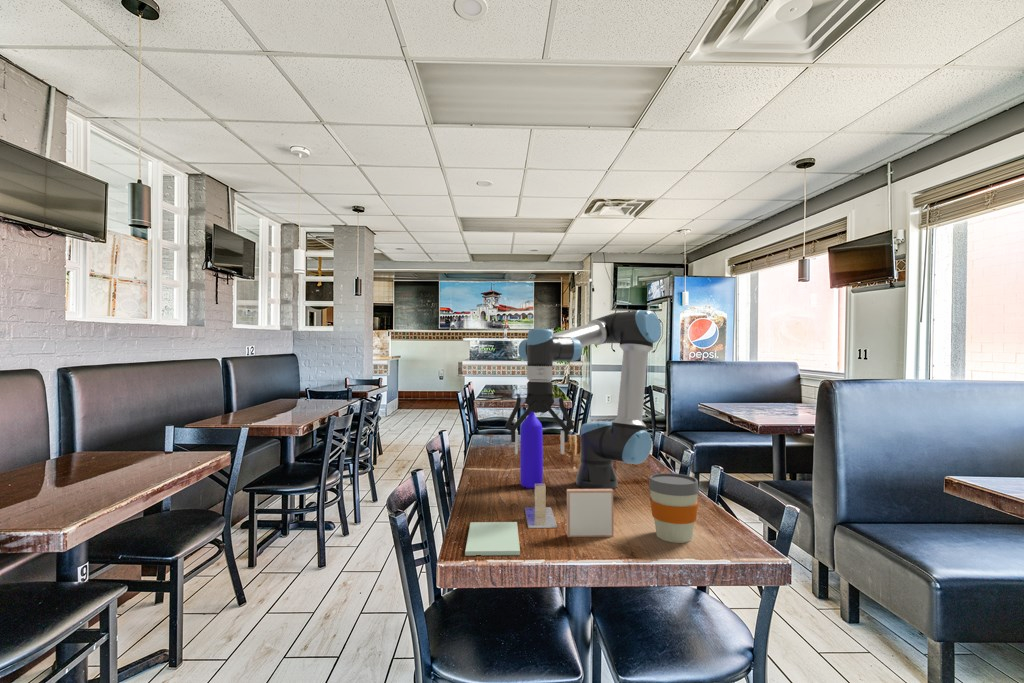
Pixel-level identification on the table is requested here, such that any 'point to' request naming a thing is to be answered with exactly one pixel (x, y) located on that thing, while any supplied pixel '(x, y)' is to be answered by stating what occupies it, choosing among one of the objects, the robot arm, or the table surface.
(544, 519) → the beige post on base
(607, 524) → the tile
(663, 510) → the reusable coffee cup
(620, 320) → the robot arm
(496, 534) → the rest mat
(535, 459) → the bottle
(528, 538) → the table surface
